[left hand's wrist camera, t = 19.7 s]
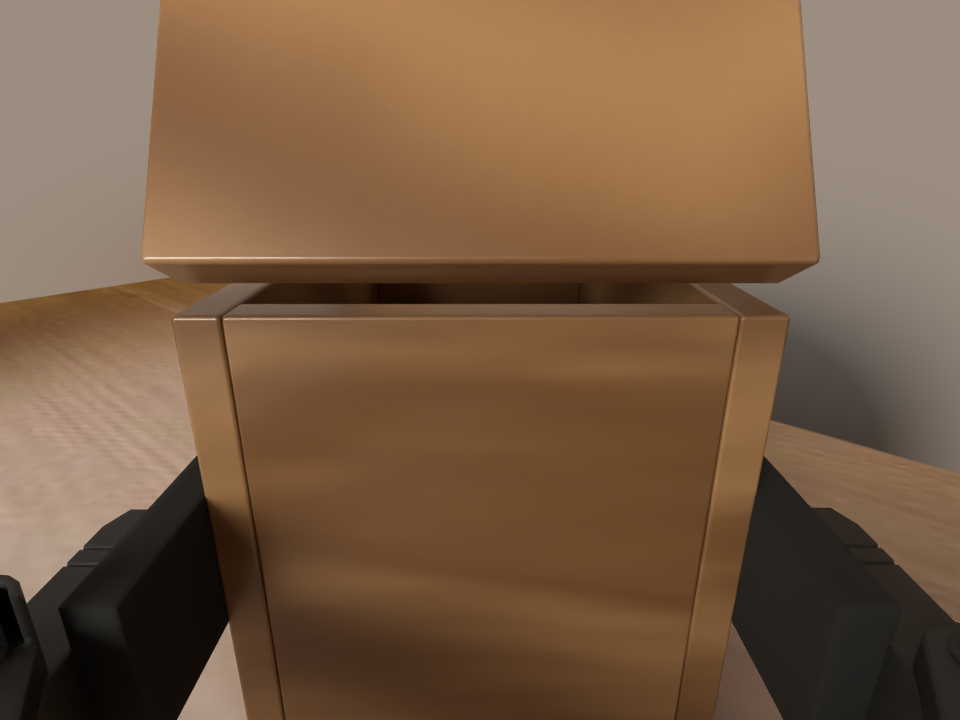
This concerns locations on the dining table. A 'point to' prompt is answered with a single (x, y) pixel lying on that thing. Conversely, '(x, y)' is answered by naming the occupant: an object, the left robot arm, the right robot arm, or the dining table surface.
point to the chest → (480, 492)
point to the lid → (480, 142)
